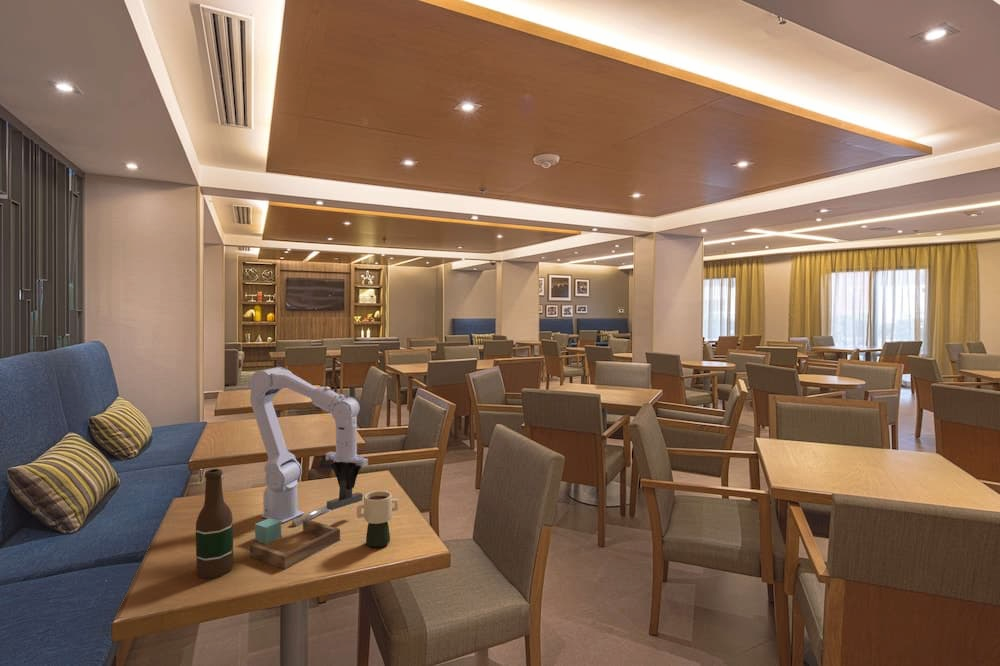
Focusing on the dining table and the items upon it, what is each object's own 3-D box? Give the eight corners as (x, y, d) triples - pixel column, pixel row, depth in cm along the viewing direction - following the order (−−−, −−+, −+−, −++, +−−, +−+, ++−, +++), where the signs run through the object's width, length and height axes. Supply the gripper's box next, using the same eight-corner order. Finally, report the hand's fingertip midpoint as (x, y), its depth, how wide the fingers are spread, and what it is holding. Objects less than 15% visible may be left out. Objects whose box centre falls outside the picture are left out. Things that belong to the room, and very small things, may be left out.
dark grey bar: (325, 508, 142) (327, 483, 142) (356, 499, 152) (358, 475, 153) (332, 510, 141) (334, 484, 141) (362, 500, 151) (364, 476, 152)
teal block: (255, 540, 136) (254, 524, 136) (269, 533, 140) (269, 517, 140) (266, 544, 134) (266, 527, 133) (281, 537, 138) (280, 521, 137)
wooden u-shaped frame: (250, 556, 127) (249, 544, 127) (306, 529, 142) (306, 519, 142) (285, 569, 121) (284, 557, 121) (340, 540, 136) (339, 529, 136)
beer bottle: (209, 562, 124) (207, 465, 123) (240, 563, 124) (238, 465, 123) (188, 579, 116) (186, 475, 115) (222, 580, 116) (220, 476, 115)
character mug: (394, 534, 140) (393, 487, 139) (402, 544, 134) (402, 496, 133) (353, 542, 135) (353, 494, 134) (360, 554, 129) (360, 503, 128)
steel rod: (297, 526, 144) (296, 519, 145) (292, 526, 145) (291, 519, 145) (329, 511, 155) (328, 504, 155) (325, 511, 156) (324, 505, 156)
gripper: (317, 440, 146) (317, 487, 147) (355, 447, 139) (355, 496, 140) (335, 435, 152) (336, 480, 153) (373, 441, 146) (373, 488, 146)
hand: (346, 487), depth 147 cm, fingers closed on dark grey bar, 2 cm apart
